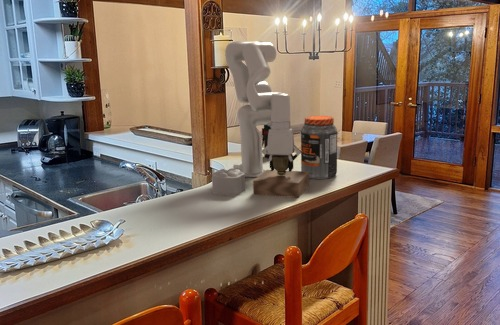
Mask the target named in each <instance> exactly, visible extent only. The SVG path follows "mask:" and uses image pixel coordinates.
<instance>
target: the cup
mask: <svg viewBox="0 0 500 325" xmlns="http://www.w3.org/2000/svg"><path fill="white" fill-rule="evenodd" d="M272 162H273V167H274V170H277V174H278V175H285V174H286V171H288V170H289V156H287V155H274V156H273V157H272Z"/></svg>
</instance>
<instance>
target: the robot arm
mask: <svg viewBox="0 0 500 325" xmlns="http://www.w3.org/2000/svg"><path fill="white" fill-rule="evenodd" d="M224 56H225V62H226V63H227V66H228V67H227V68H228V69H229V70H230V72H231V75H232V79H233V84H234V90H235V95H236V97H237V100H238V102H239V103H241V104H245V105H242V106H240V107H239V108H238V110H237V121H238V124H239V132H240V149H241V150H240V151H241V152H240V154H241V163H240V164H233V166H232V168H233V169H235V170H238V171H241V172H243V173H245V178H257V177H258V176H259V175H261V174H262V173H263V172H265V171H266V170H267V169H266V170H265V169H264V168H263V167H264V165H263V164H264V163H263V156H264V155H265V157H264V158H267V161H269V169H270V170H271V171H273V170H275V169H274V167H273V162H272V157H273V156H274V155H287V156H289V168H288V171H289V172H291V171H293V169H294V161H295V160H296V159H297V158H298V157H299V155H301V149H300V148H299V147H297V146H296V145H295V139H294V137H295V136H294V132H293V128H291V97H290V95H289V93H283V92H281V91H272V87H271V86H270V84H269V83H268V82H267V81H266V80H267V79H268V78H269V77H270V74H271V69H270V66H269V63H273V62H274V61H275V60H276V58H277V49H276V47H275V45H274V44H273V43H271V42H270V41H269V42H268V41H262V40H241V41H238V40H236V41H232V42H229V43H228V44H227V45H226V47H225V55H224ZM244 62H245V63H244ZM264 125H268V126H270V127H271V129H269V133H268V145H267V146H266V147H265V148H264V147H263V146H262V140H263V135H262V132H261V131H260V130H259V129H258V126H264ZM267 151H268V153H267ZM295 152H296V153H295ZM293 153H295V154H294V155H293ZM269 154H270V155H269Z"/></svg>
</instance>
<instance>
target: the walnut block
mask: <svg viewBox="0 0 500 325" xmlns="http://www.w3.org/2000/svg"><path fill="white" fill-rule="evenodd" d="M252 185H253V186H252V187H253V188H252V190H253V195H257V196H270V197H271V196H273V197H283V198H284V197H286V198H287V197H288V198H300V197H301V195H303V193H305V190H307V188H308V187H309V185H310V178H309V172H304V171H298V170H292V171H291V172H289V170H286V174H285V175H278V174H277V170H275V169H274V170H273V171H271V169H266V171H265V172H263V173H262V174H261V175H259V176H258V177H255V178H254V179H253V180H252Z"/></svg>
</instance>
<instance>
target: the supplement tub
mask: <svg viewBox="0 0 500 325" xmlns="http://www.w3.org/2000/svg"><path fill="white" fill-rule="evenodd" d="M334 122H335V120H334V117H333V116H329V115H311V116H306V117H304V124H303V126H302V127H301V130H300V151H301V153H300V157H301V158H300V165H301V167H300V168H301V169H300V170H301V171H304V172H309V179H314V180H315V179H316V180H326V179H331V178H334V177H335V176H336V175H337V173H338V128H337V127H336V125H334Z"/></svg>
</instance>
